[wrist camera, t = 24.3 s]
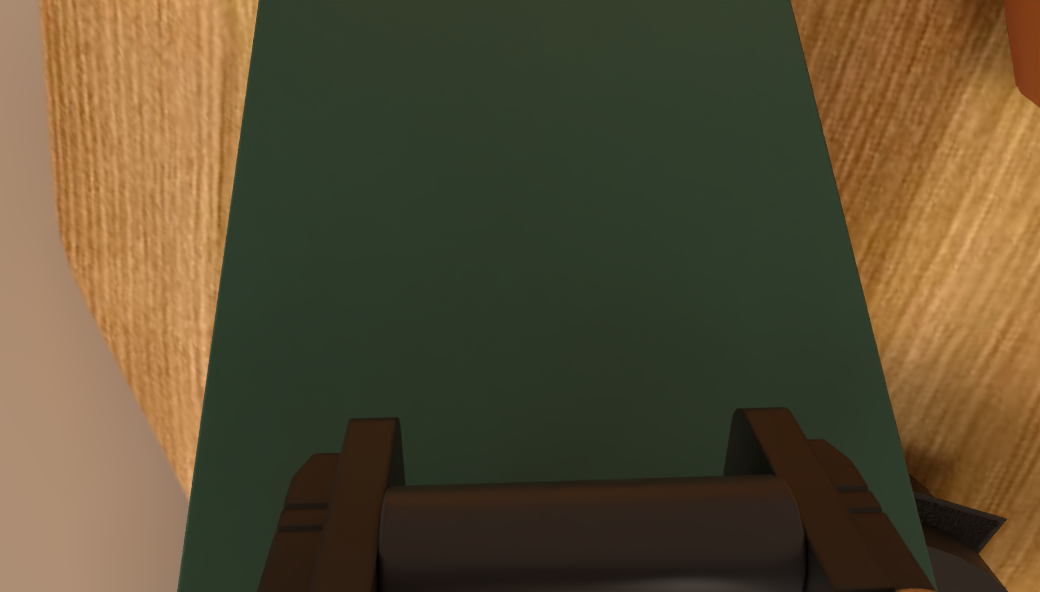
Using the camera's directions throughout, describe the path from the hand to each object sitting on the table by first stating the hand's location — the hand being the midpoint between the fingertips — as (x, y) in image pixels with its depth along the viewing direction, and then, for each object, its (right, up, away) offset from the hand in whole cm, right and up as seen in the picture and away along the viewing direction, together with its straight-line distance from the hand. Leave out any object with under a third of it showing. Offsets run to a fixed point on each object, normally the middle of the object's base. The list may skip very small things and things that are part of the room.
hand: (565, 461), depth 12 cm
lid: (0, +3, +4) cm, 5 cm away
